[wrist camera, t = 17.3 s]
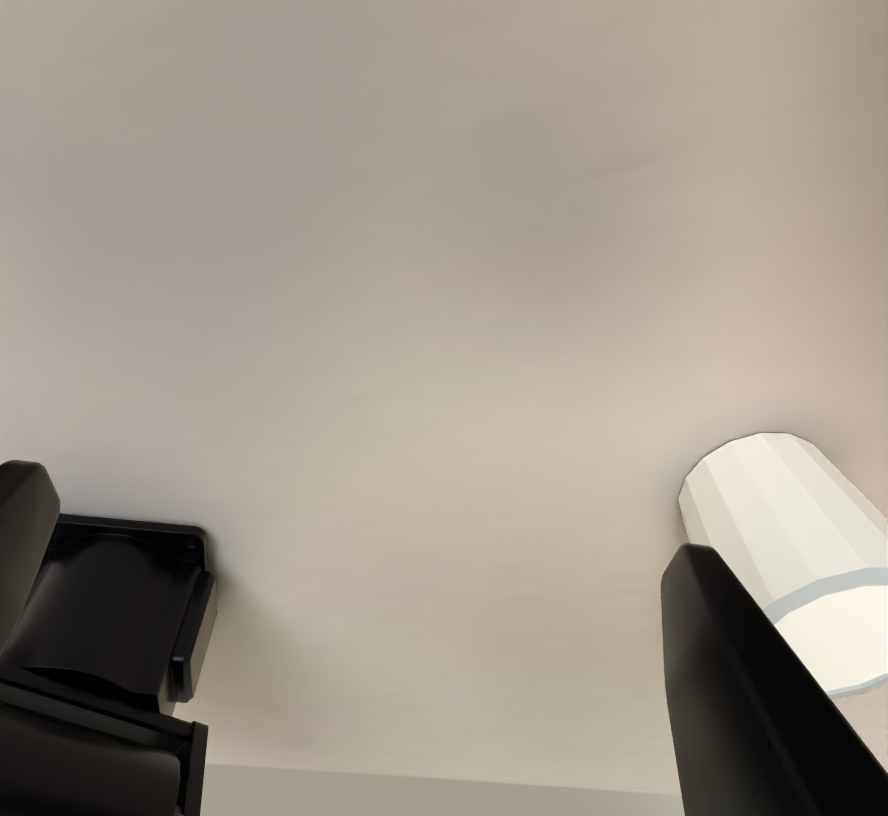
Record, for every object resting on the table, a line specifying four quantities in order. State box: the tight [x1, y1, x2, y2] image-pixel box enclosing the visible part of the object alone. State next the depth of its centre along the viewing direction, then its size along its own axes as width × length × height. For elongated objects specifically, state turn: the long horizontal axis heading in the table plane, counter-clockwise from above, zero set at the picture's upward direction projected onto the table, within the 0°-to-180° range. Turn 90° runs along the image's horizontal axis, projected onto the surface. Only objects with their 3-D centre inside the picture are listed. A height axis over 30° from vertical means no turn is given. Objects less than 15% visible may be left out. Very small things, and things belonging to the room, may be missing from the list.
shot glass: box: [678, 433, 888, 700], centre depth 23 cm, size 7×7×7 cm
